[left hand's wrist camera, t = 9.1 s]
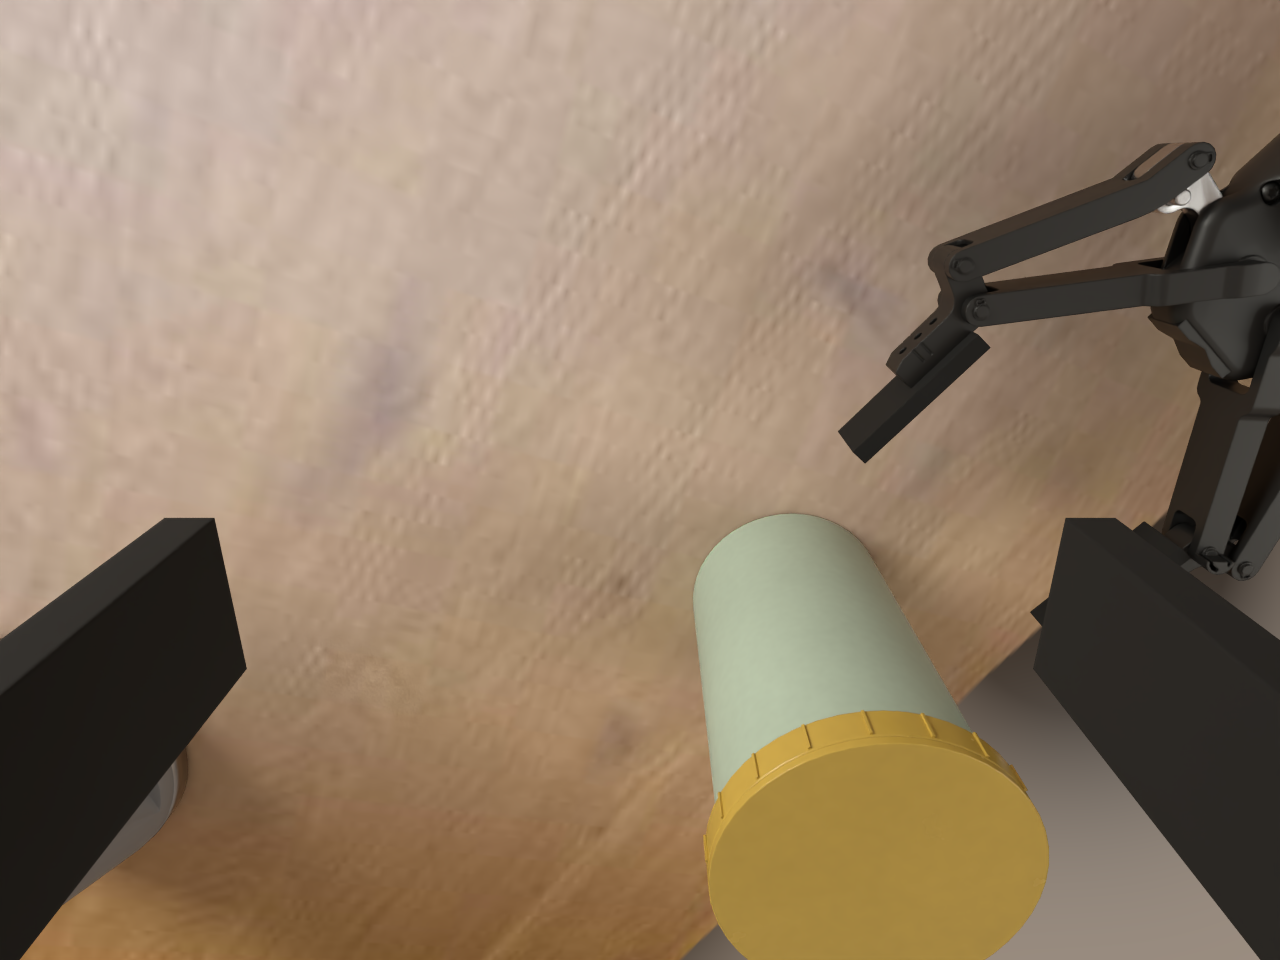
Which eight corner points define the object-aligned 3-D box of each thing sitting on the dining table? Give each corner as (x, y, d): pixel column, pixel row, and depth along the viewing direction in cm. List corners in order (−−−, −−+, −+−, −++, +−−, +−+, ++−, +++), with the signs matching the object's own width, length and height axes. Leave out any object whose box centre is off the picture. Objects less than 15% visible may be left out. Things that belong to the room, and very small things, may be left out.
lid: (923, 987, 31) (938, 1030, 29) (652, 901, 29) (652, 942, 28) (1094, 775, 27) (1121, 811, 25) (792, 662, 25) (802, 694, 24)
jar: (824, 698, 46) (927, 1005, 29) (663, 639, 45) (675, 925, 28) (913, 553, 43) (1088, 807, 26) (742, 484, 41) (809, 705, 24)
